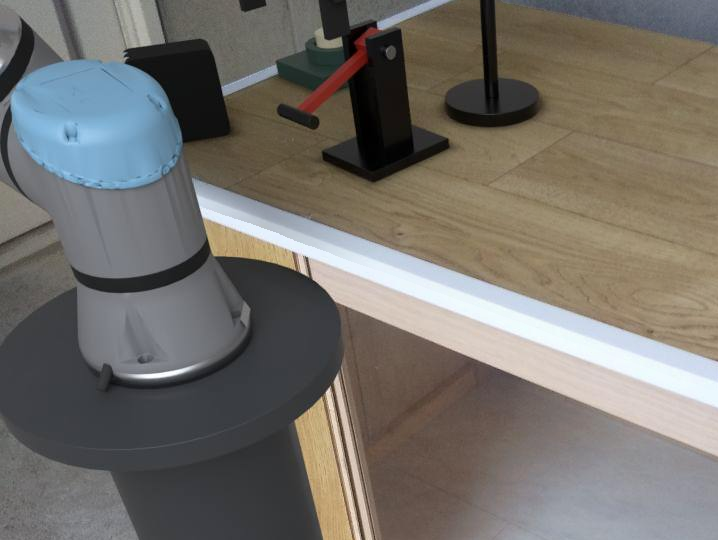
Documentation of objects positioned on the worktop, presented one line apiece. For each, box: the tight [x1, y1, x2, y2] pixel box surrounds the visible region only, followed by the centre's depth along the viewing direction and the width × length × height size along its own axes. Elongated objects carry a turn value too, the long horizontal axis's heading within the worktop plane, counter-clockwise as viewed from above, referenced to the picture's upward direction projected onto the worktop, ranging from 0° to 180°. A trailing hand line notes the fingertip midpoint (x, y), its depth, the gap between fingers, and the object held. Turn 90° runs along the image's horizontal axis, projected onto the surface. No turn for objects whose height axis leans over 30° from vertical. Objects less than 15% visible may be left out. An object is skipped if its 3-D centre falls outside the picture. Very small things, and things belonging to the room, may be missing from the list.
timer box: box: [275, 36, 349, 92], centre depth 134 cm, size 12×10×4 cm
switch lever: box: [276, 27, 383, 131], centre depth 107 cm, size 14×6×2 cm, turn 138°
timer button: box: [314, 27, 343, 48], centre depth 132 cm, size 4×4×2 cm
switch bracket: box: [321, 18, 450, 183], centre depth 112 cm, size 12×9×14 cm
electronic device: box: [121, 38, 232, 143], centre depth 118 cm, size 4×10×10 cm, turn 112°
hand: (294, 22), depth 100 cm, fingers open, 13 cm apart
